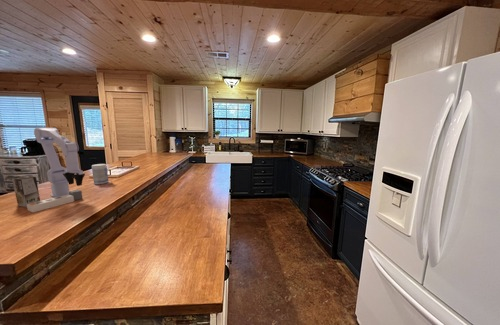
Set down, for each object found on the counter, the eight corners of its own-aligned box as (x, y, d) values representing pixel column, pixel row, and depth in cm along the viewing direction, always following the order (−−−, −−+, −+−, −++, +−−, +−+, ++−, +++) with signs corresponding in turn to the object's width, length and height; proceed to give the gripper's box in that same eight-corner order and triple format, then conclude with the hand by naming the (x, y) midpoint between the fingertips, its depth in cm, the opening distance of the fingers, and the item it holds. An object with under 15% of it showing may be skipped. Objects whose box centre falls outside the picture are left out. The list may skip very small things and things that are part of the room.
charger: (69, 201, 121) (68, 193, 120) (66, 200, 123) (64, 192, 122) (82, 198, 127) (81, 190, 126) (78, 197, 128) (77, 189, 128)
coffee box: (41, 203, 118) (36, 176, 115) (26, 207, 112) (20, 179, 109) (32, 201, 121) (27, 175, 118) (17, 205, 115) (11, 177, 112)
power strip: (32, 212, 106) (31, 205, 105) (27, 210, 109) (26, 203, 108) (74, 201, 122) (73, 195, 121) (69, 199, 125) (68, 193, 124)
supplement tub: (109, 183, 161) (107, 164, 158) (94, 185, 154) (92, 166, 152) (107, 180, 168) (105, 163, 165) (93, 182, 161) (90, 164, 159)
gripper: (56, 163, 120) (60, 185, 122) (72, 164, 115) (75, 188, 117) (70, 161, 126) (73, 182, 129) (85, 162, 121) (88, 184, 124)
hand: (75, 184), depth 124 cm, fingers open, 7 cm apart
